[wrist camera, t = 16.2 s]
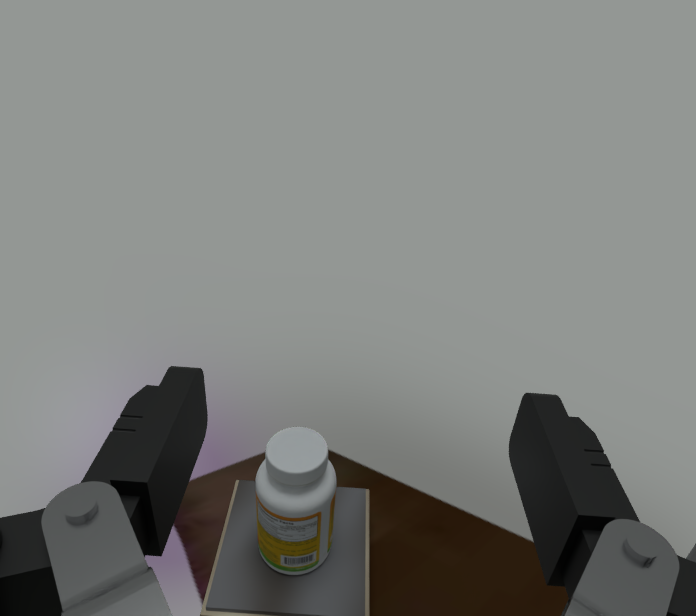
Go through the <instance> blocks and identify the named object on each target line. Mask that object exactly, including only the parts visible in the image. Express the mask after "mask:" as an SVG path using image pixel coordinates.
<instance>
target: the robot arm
mask: <svg viewBox="0 0 696 616" xmlns="http://www.w3.org/2000/svg"><path fill="white" fill-rule="evenodd" d="M206 429H207V405H206V394H205V385H204V375H203V371H202V369H201V368H190V367H176V366H171V367H169V369H168V370H167V372H166V374H165V376H164V378H163V380H162V382H161V383H160V385H159V386H151V385H146V386H145V387H144V388H142V389H141V390H140V391H139V392H137V393H136V394H135V395H134V396H132V397H131V398H130V399H129V401H128V403H127V404H126V406H125V408H124V410H123V411H122V413H121V415H120V418H118V420H117V422H116V423H115V425H114V427H113V431H112V432H110V434H109V435H108V437H107V439H106V440H105V442H104V444H103V446H102V447H101V449H100V451H99V452H98V454H97V456H96V458H95V459H94V461H93V463H92V464H91V466H90V468H89V470H88V471H87V473H86V475H85V477H84V478H83V480H82V481H81V483H79V484H77V485H74V486H71V487H69V488H67V489H65V490H64V491H62V492H61V493H59V494H58V495H57V496H55V497H54V498H53V499H52V500H51V501H50V503H49V504H48V505H47V507H46V508H44V509H41V510H37V511H33V512H28V513H23V514H17V515H12V516H7V517H2V518H0V616H172V614H171V611H170V609H169V606H168V604H167V602H166V599H165V597H164V595H163V592H162V590H161V587H160V585H159V582H158V580H157V578H156V575H155V573H154V571H153V569H152V568H151V567H148V565H147V563H146V560H145V555H151V556H162V553H163V551H164V548H165V545H166V542H167V540H168V537H169V534H170V532H171V529H172V526H173V523H174V521H175V518H176V515H177V512H178V510H179V507H180V504H181V501H182V499H183V496H184V493H185V490H186V488H187V485H188V482H189V480H190V477H191V474H192V471H193V468H194V466H195V463H196V460H197V457H198V455H199V452H200V449H201V447H202V444H203V441H204V438H205V434H206ZM603 452H604V450H603V448H602V446H601V444H600V442H599V440H598V438H597V436H596V434H595V433H594V432H593V431H592V430H591V429H590V428H589V427H588V426H587V425H586V424H585V423H584V422H583V421H582V420H581V419H580V418H579V417H569V416H568V414H567V412H566V410H565V408H564V406H563V404H562V401H561V399H560V398H559V397H558V396H557V395H550V394H536V393H526V394H524V396H523V398H522V400H521V404H520V407H519V410H518V413H517V417H516V420H515V423H514V426H513V430H512V433H511V436H510V441H509V457H510V463H511V466H512V470H513V473H514V476H515V480H516V483H517V486H518V490H519V493H520V496H521V500H522V503H523V507H524V510H525V513H526V517H527V520H528V523H529V526H530V530H531V533H532V536H533V540H534V544H535V547H536V550H537V554H538V557H539V560H540V564H541V567H542V570H543V574H544V577H545V580H546V584H547V585H551V586H565V587H566V591H567V594H568V597H569V600H568V602H567V604H566V606H565V608H564V610H563V612H562V615H561V616H696V544H695V546H694V547H693V549H692V550H691V552H690V553H689V555H688V556H687V558H686V559H685V558H682V557H680V556H678V555H676V553H675V551H674V549H673V548H672V546H671V545H670V544H669V543H668V541H667V540H666V539H665V538H664V537H663V536H662V535H660V534H659V533H658V532H656V531H655V530H654V529H652V528H650V527H649V526H647V525H645V524H643V523H640V521H639V519H638V517H637V515H636V513H635V511H634V509H633V507H632V505H631V503H630V502H629V499H628V497H627V495H626V494H625V492H624V490H623V488H622V486H621V484H620V482H619V480H618V478H617V476H616V474H615V472H614V470H613V469H611V464H610V462H609V460H608V458H607V456H606V454H604V453H603Z"/></svg>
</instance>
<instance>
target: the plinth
mask: <svg viewBox="0 0 696 616" xmlns="http://www.w3.org/2000/svg"><path fill="white" fill-rule="evenodd" d="M200 616H369V490H368V489H359V488H345V487H336V496H335V508H334V521H333V536H332V545H331V549H330V552H329V554H328V556H327V558H326V559H325V560H324V562H323V563H322V564H321V565H320V566H318V567H317V568H316V569H314V570H312V571H310V572H308V573H305V574H300V575H288V574H283V573H280V572H278V571H276V570H274V569H272V568H271V567H270V566H269V565H268V564H267V563H266V562H265V561H264V559H263V558H262V556H261V554H260V551H259V546H258V532H257V510H256V481H247V480H236V484H235V488H234V491H233V495H232V499H231V502H230V506H229V510H228V514H227V517H226V521H225V525H224V528H223V532H222V536H221V540H220V543H219V547H218V551H217V554H216V558H215V562H214V566H213V569H212V573H211V577H210V580H209V584H208V588H207V592H206V595H205V599H204V603H203V606H202V610H201V614H200Z"/></svg>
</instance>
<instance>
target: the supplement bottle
mask: <svg viewBox="0 0 696 616" xmlns="http://www.w3.org/2000/svg"><path fill="white" fill-rule="evenodd" d="M335 496H336V474H335V470H334V468H333V466H332V464H331V462H330V461H329V460H328V446H327V443H326V441H325V439H324V438H323V437H322V436H321V435H320V434H319V433H318V432H316V431H314V430H312V429H309V428H305V427H291V428H287V429H284V430H281V431H279V432H277V433H276V434H275V435H273V436H272V438H271V439H270V440H269V442H268V443H267V446H266V459H265V460H264V461H263V463H262V464H261V466H260V467H259V469H258V472H257V475H256V510H257V532H258V546H259V551H260V554H261V556H262V558H263V559H264V561H265V562H266V563H267V564H268V565H269V566H270V567H271V568H272V569H274V570H276V571H278V572H280V573H283V574H288V575H300V574H305V573H308V572H310V571H312V570H314V569H316V568H317V567H318V566H320V565H321V564H322V563H323V562H324V560H325V559H326V558H327V556H328V554H329V552H330V549H331V545H332V536H333V521H334V508H335Z"/></svg>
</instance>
